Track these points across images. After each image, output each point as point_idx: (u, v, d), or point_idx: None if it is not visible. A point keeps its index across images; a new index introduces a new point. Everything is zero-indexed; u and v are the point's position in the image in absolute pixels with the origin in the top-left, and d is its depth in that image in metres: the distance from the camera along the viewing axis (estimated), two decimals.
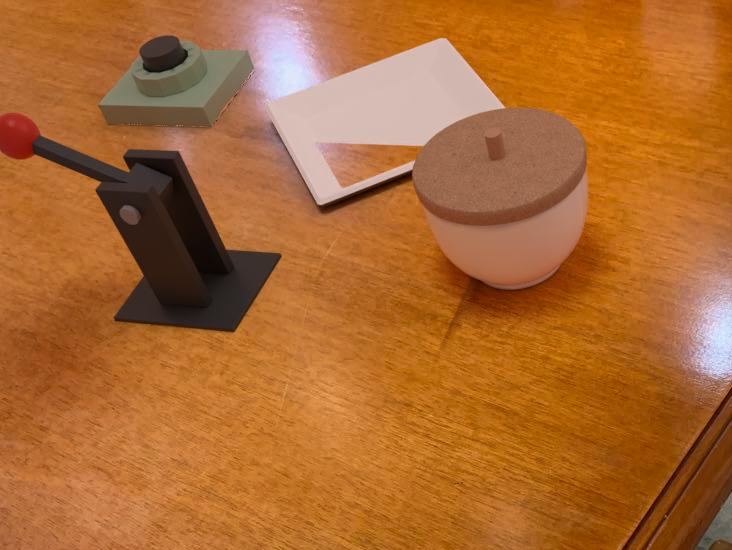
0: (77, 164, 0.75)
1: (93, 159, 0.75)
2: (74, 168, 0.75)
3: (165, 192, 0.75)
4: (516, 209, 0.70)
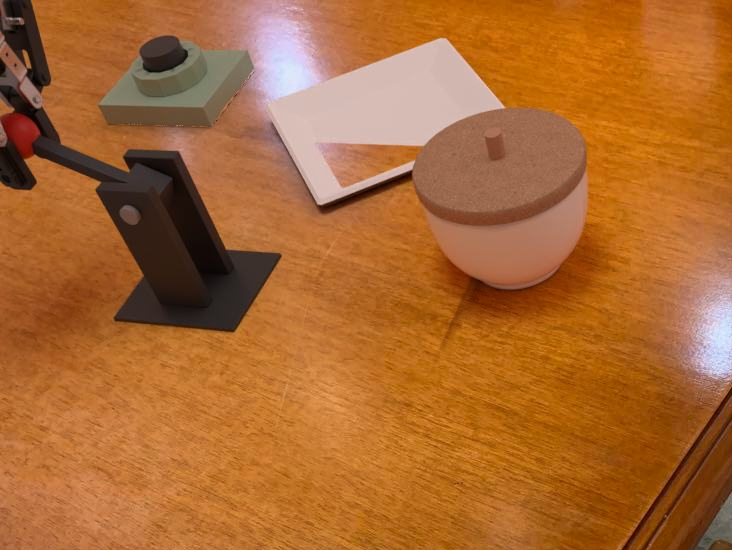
0: (77, 164, 0.75)
1: (93, 159, 0.75)
2: (74, 168, 0.75)
3: (165, 192, 0.75)
4: (516, 209, 0.70)
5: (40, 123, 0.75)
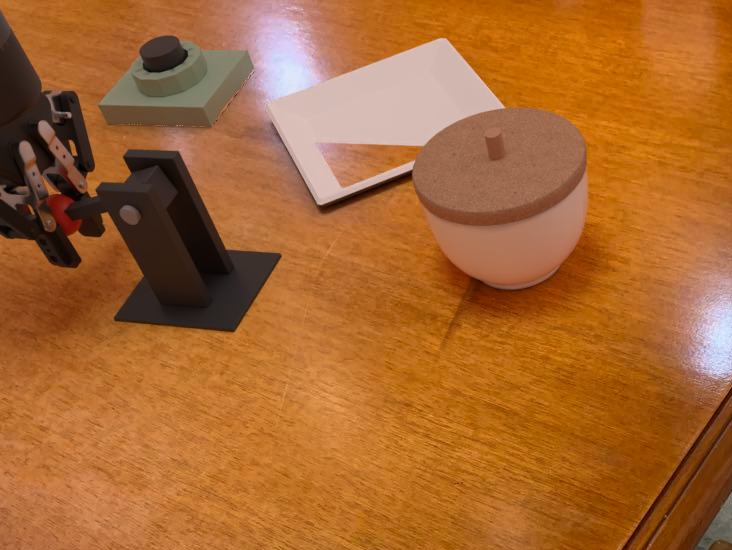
0: (95, 204, 0.78)
1: None
2: (97, 211, 0.78)
3: (153, 180, 0.74)
4: (516, 209, 0.70)
5: None
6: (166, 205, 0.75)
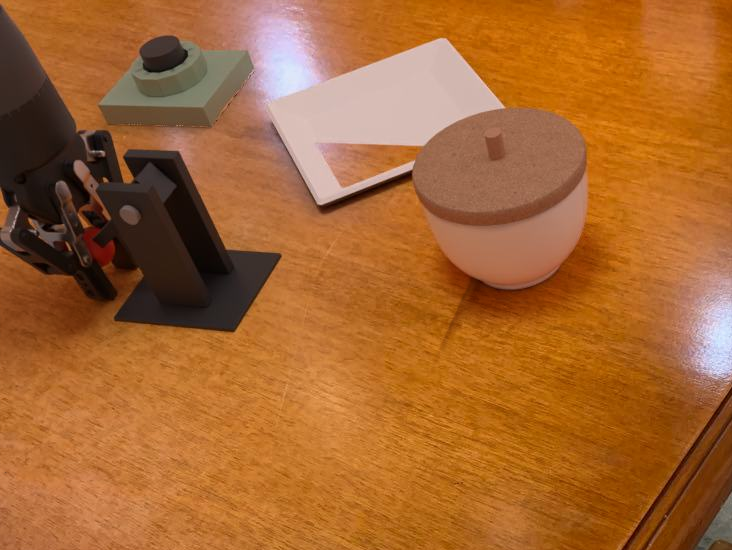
0: (111, 222, 0.79)
1: None
2: (116, 229, 0.79)
3: (146, 176, 0.74)
4: (516, 209, 0.70)
5: (119, 241, 0.83)
6: (164, 198, 0.75)
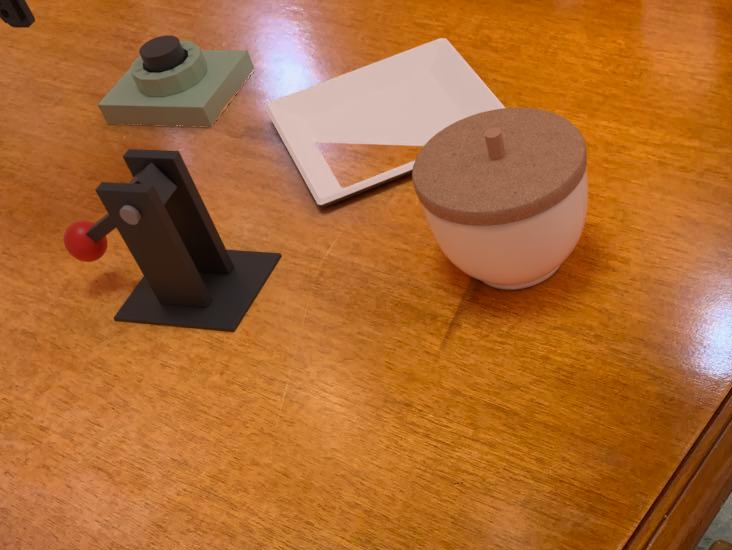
0: (107, 218, 0.78)
1: None
2: (112, 225, 0.79)
3: (148, 176, 0.74)
4: (516, 209, 0.70)
5: None
6: (165, 200, 0.75)
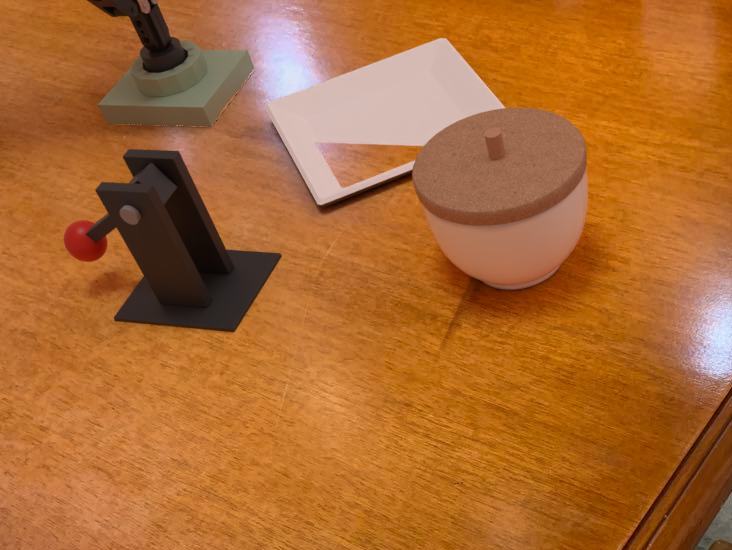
0: (107, 218, 0.78)
1: None
2: (112, 225, 0.79)
3: (148, 176, 0.74)
4: (516, 209, 0.70)
5: (156, 16, 0.97)
6: (165, 200, 0.75)
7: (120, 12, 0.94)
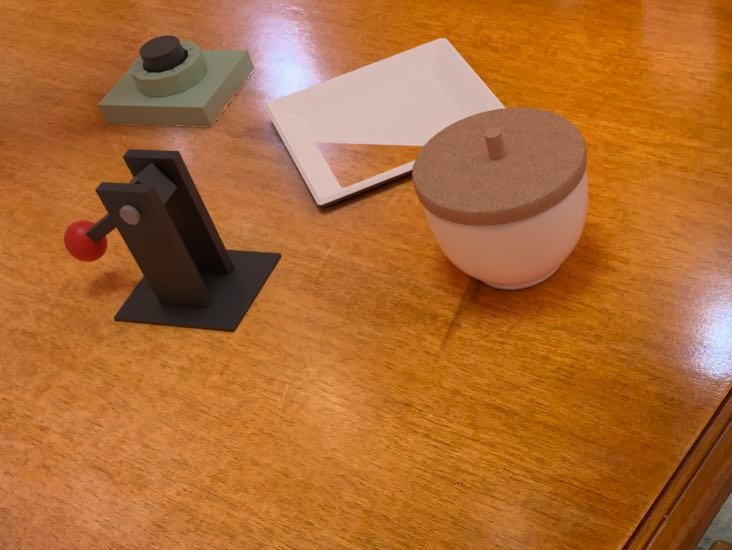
0: (107, 218, 0.78)
1: None
2: (112, 225, 0.79)
3: (148, 176, 0.74)
4: (516, 209, 0.70)
5: None
6: (165, 200, 0.75)
7: None
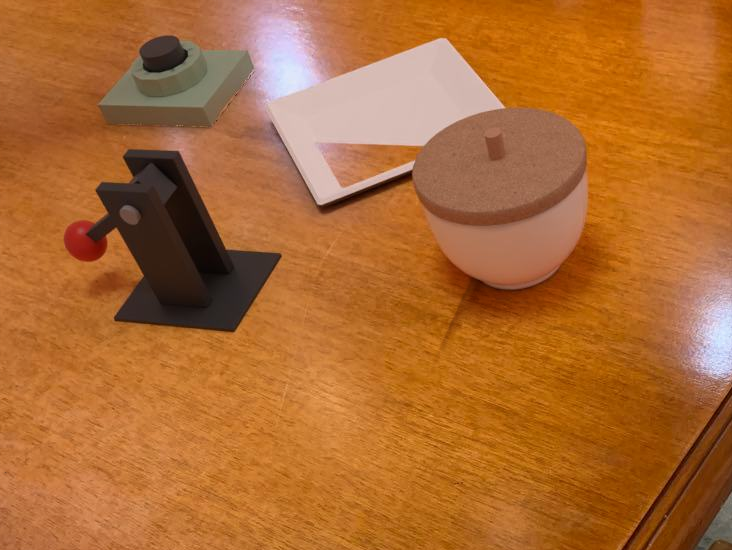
0: (107, 218, 0.78)
1: None
2: (112, 225, 0.79)
3: (148, 176, 0.74)
4: (516, 209, 0.70)
5: None
6: (165, 200, 0.75)
7: None
